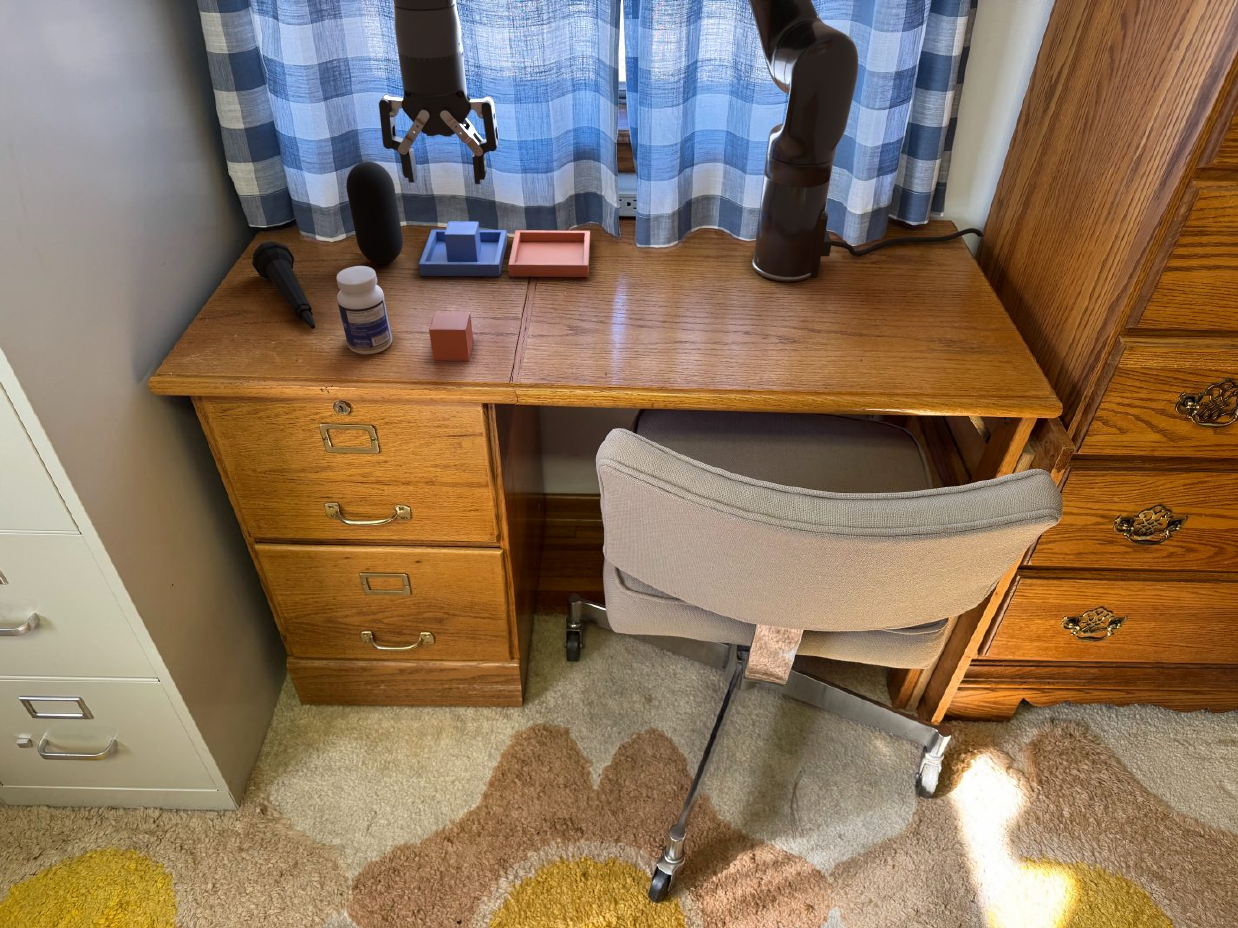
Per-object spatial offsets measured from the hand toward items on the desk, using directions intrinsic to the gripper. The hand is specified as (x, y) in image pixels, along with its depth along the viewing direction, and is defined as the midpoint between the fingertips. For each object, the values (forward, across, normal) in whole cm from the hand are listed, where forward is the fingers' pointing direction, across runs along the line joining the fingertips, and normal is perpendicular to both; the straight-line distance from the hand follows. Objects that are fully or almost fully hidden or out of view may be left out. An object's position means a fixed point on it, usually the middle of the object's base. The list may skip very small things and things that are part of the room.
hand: (446, 181), depth 110 cm
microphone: (+16, -24, -3) cm, 29 cm away
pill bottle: (+16, -9, -14) cm, 23 cm away
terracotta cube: (+16, +2, -15) cm, 22 cm away
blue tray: (+16, -1, +11) cm, 19 cm away
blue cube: (+16, -1, +11) cm, 19 cm away
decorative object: (+16, -13, +9) cm, 23 cm away
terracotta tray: (+16, +12, +11) cm, 23 cm away
